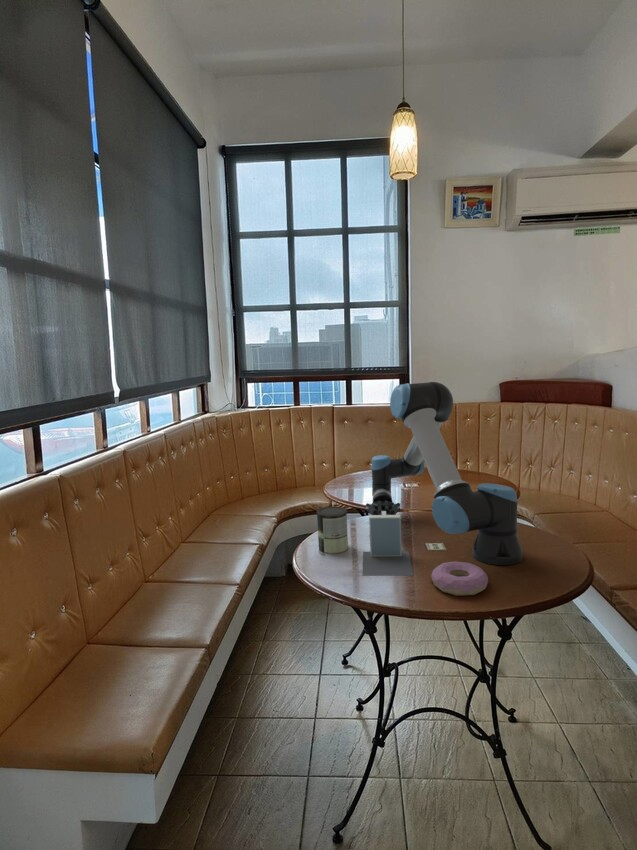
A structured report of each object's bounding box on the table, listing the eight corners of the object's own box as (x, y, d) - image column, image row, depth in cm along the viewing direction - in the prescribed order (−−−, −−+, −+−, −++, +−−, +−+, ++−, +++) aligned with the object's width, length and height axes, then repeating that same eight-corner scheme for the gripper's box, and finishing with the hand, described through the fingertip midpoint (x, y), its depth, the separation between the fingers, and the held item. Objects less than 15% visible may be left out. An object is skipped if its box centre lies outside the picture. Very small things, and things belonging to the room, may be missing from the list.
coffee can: (312, 552, 172) (310, 512, 171) (330, 543, 180) (329, 504, 178) (336, 558, 166) (334, 517, 164) (354, 548, 174) (352, 509, 172)
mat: (408, 553, 167) (408, 551, 167) (413, 577, 148) (413, 575, 148) (363, 553, 169) (363, 551, 169) (362, 578, 150) (362, 575, 150)
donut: (456, 570, 153) (455, 554, 152) (499, 587, 140) (499, 570, 139) (420, 585, 144) (419, 568, 143) (463, 605, 131) (462, 586, 131)
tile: (401, 553, 166) (400, 514, 164) (401, 556, 163) (400, 517, 161) (370, 553, 167) (369, 515, 165) (370, 556, 164) (369, 517, 162)
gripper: (399, 510, 194) (404, 531, 171) (365, 511, 195) (365, 531, 172) (399, 491, 193) (403, 509, 170) (365, 492, 194) (364, 510, 171)
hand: (384, 520), depth 171 cm, fingers closed
